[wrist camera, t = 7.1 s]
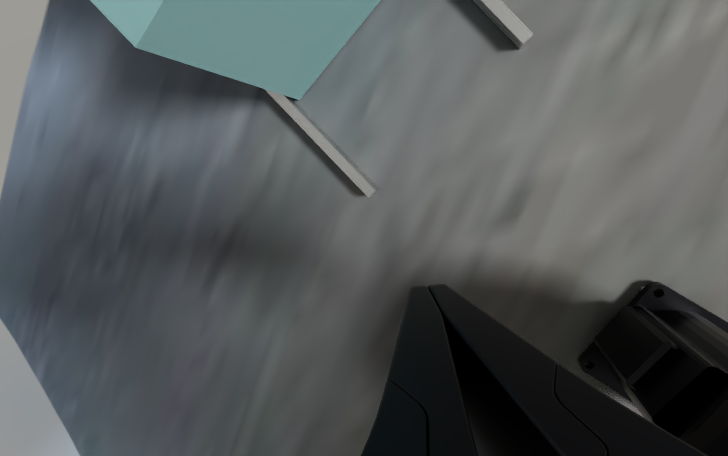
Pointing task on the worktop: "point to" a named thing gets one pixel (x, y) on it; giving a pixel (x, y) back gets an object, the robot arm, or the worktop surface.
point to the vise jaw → (243, 35)
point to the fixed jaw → (487, 3)
